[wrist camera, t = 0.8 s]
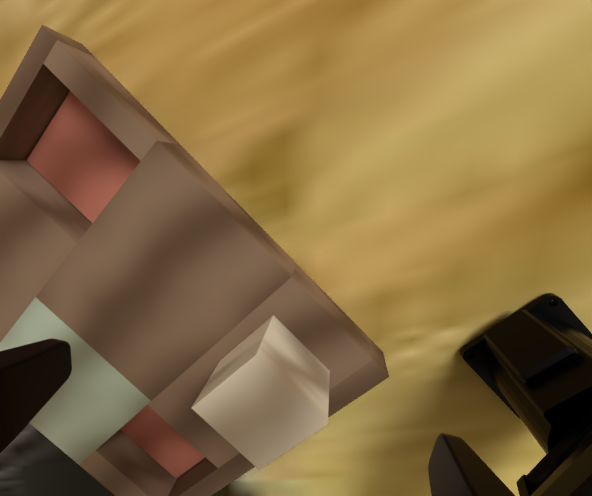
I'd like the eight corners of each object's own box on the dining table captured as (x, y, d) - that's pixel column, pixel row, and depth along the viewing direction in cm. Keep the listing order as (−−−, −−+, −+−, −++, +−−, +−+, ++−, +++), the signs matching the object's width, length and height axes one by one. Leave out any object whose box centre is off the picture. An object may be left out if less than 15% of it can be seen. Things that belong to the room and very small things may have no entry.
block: (329, 371, 18) (327, 424, 15) (274, 411, 20) (259, 469, 16) (273, 315, 18) (255, 355, 14) (220, 360, 19) (191, 408, 16)
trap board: (382, 352, 20) (388, 376, 18) (173, 499, 27) (157, 531, 25) (81, 44, 18) (42, 25, 15) (-69, 289, 24) (-113, 303, 22)
